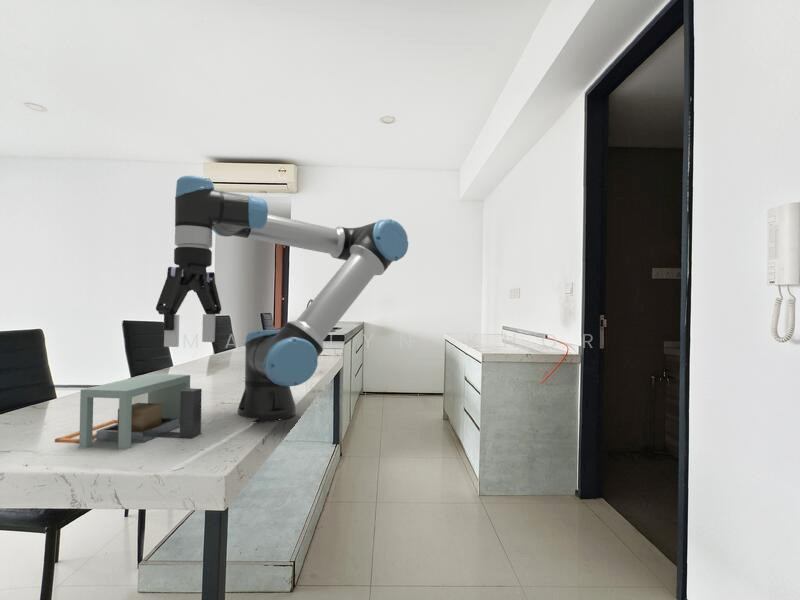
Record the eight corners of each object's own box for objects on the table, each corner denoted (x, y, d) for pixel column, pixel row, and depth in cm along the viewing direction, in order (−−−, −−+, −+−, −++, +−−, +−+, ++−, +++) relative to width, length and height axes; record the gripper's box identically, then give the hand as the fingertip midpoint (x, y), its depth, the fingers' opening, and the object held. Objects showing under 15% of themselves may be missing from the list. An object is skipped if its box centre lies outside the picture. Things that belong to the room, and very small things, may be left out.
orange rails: (136, 426, 104) (137, 420, 104) (80, 447, 89) (80, 440, 89) (114, 425, 105) (114, 419, 105) (54, 446, 89) (54, 439, 89)
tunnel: (189, 426, 105) (190, 374, 106) (125, 454, 85) (126, 391, 85) (151, 424, 107) (152, 373, 107) (79, 452, 86) (80, 389, 86)
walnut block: (161, 430, 98) (162, 403, 98) (142, 437, 92) (143, 409, 92) (137, 429, 99) (137, 402, 99) (117, 436, 93) (117, 408, 93)
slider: (211, 431, 100) (212, 385, 100) (179, 448, 88) (180, 395, 88) (136, 428, 102) (137, 383, 102) (95, 444, 90) (96, 392, 91)
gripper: (208, 255, 108) (207, 339, 107) (137, 238, 83) (134, 348, 83) (237, 255, 107) (235, 340, 107) (173, 238, 82) (170, 349, 82)
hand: (191, 344), depth 95 cm, fingers open, 13 cm apart
